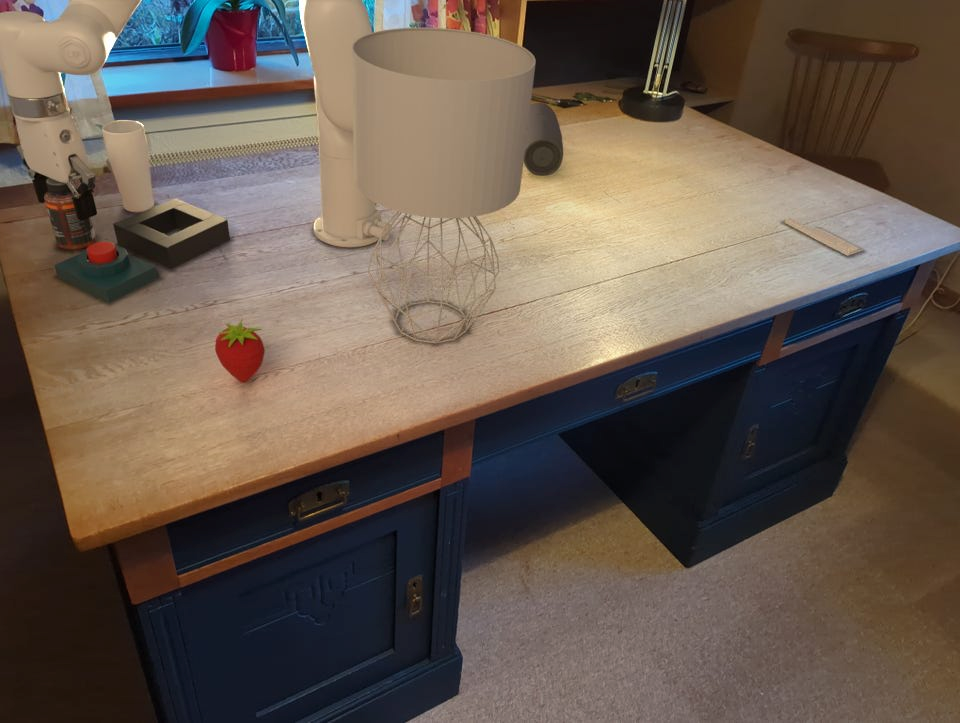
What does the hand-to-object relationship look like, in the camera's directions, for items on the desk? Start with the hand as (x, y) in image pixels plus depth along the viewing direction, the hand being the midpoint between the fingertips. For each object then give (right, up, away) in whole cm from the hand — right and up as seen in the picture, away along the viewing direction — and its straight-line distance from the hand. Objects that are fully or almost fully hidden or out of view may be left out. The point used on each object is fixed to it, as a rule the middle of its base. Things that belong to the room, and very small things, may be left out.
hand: (67, 208), depth 123 cm
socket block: (+15, -5, +6) cm, 17 cm away
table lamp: (+59, -19, -6) cm, 63 cm away
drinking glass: (+5, +3, +16) cm, 17 cm away
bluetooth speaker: (+80, +20, +48) cm, 95 cm away
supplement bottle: (0, -5, +4) cm, 6 cm away
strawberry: (+35, -28, -21) cm, 49 cm away
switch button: (+9, -9, -6) cm, 14 cm away
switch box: (+8, -12, -4) cm, 15 cm away
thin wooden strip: (+135, 0, +28) cm, 138 cm away
